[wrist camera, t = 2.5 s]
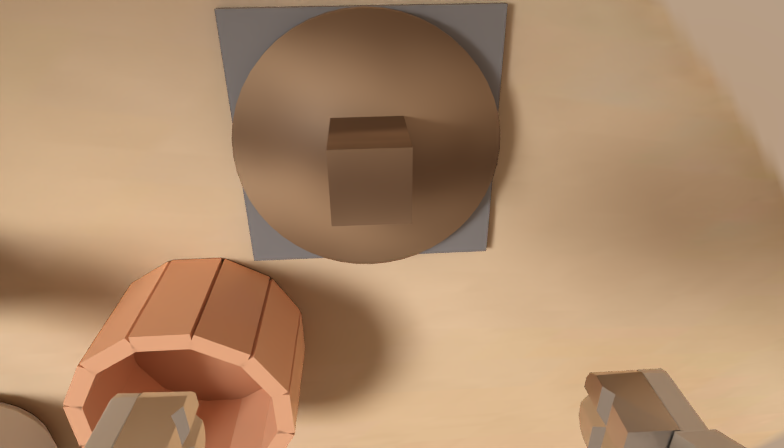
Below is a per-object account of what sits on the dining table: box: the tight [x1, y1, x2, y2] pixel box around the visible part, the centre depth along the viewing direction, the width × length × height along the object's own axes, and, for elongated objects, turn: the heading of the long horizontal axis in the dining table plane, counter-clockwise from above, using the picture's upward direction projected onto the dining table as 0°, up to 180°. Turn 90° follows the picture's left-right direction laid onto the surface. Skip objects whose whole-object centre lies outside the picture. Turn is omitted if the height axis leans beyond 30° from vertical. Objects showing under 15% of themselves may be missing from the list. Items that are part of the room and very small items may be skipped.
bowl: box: [63, 258, 305, 448], centre depth 27 cm, size 10×10×6 cm
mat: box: [215, 3, 507, 261], centre depth 25 cm, size 12×12×1 cm
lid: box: [232, 6, 500, 264], centre depth 22 cm, size 12×12×5 cm
